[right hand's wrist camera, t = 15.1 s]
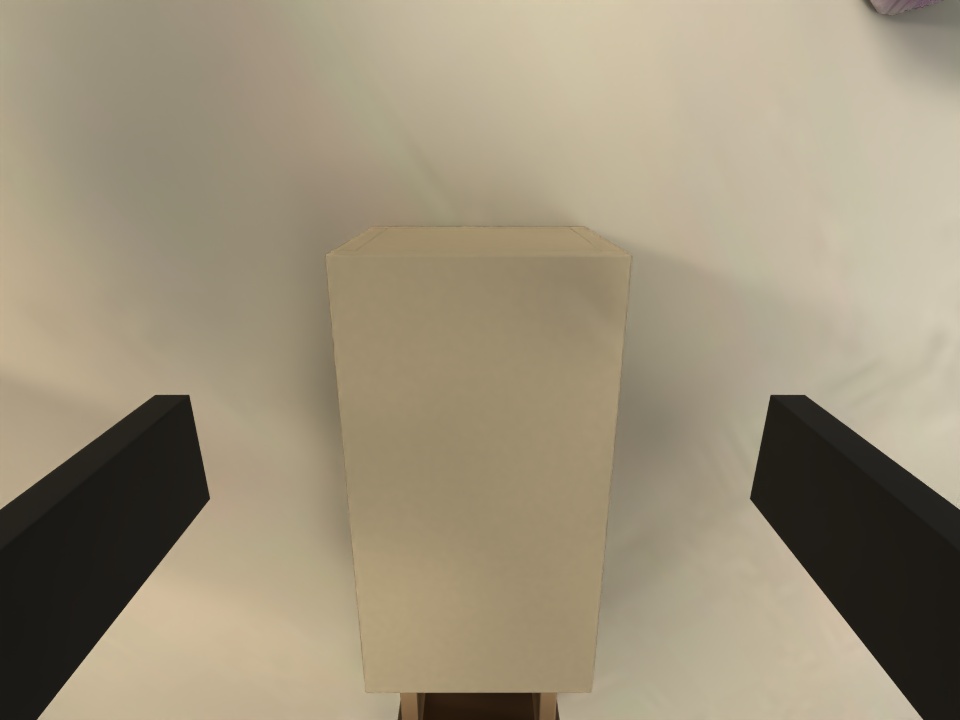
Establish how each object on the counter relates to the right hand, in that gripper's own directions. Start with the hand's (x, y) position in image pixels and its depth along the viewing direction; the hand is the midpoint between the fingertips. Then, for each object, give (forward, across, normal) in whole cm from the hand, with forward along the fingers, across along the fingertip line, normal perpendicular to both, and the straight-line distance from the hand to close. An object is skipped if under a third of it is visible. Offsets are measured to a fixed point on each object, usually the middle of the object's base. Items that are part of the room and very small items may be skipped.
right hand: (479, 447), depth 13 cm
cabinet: (+16, 0, -7) cm, 17 cm away
